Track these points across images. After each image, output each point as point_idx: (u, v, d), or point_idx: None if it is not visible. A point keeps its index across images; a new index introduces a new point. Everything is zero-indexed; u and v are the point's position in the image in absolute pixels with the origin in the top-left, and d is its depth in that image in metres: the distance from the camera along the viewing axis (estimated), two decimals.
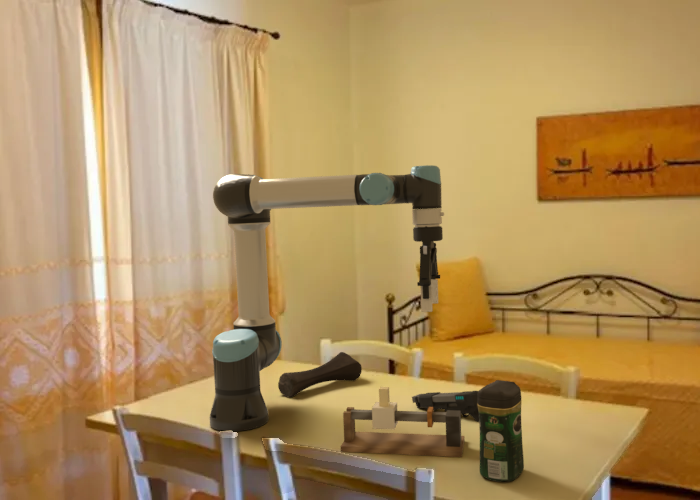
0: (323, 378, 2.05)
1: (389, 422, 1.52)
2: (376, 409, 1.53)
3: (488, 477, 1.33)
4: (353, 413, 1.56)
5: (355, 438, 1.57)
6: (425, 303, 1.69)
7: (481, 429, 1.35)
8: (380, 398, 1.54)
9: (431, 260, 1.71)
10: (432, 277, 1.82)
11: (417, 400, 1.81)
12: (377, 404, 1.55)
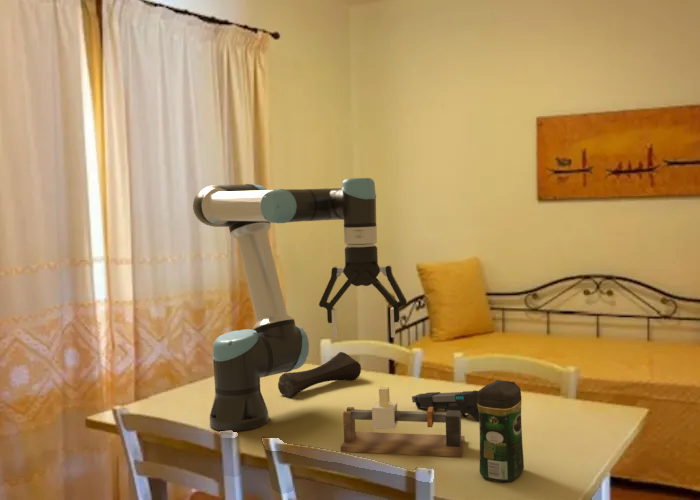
0: (323, 378, 2.05)
1: (389, 422, 1.52)
2: (376, 409, 1.53)
3: (488, 477, 1.33)
4: (353, 413, 1.56)
5: (355, 438, 1.57)
6: None
7: (481, 429, 1.35)
8: (380, 398, 1.54)
9: None
10: None
11: (417, 400, 1.81)
12: (377, 404, 1.55)
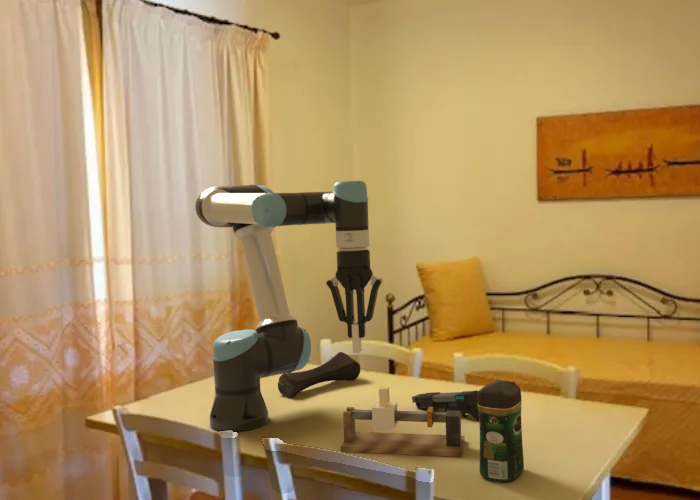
0: (322, 378, 2.05)
1: (389, 422, 1.52)
2: (376, 409, 1.53)
3: (488, 477, 1.33)
4: (353, 413, 1.56)
5: (355, 438, 1.57)
6: None
7: (481, 429, 1.35)
8: (380, 398, 1.54)
9: None
10: None
11: (417, 400, 1.81)
12: (377, 404, 1.55)
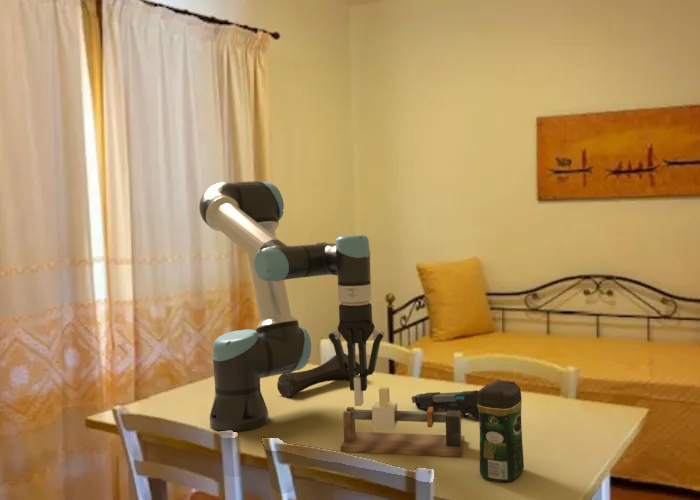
0: (322, 378, 2.05)
1: (389, 422, 1.52)
2: (376, 409, 1.53)
3: (488, 477, 1.33)
4: (353, 413, 1.56)
5: (355, 438, 1.57)
6: None
7: (481, 429, 1.35)
8: (380, 398, 1.54)
9: None
10: None
11: (417, 400, 1.81)
12: (377, 404, 1.55)
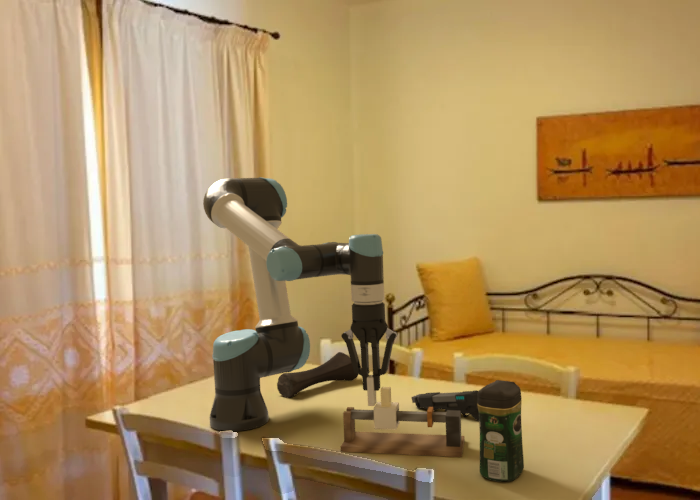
0: (322, 378, 2.05)
1: (390, 422, 1.52)
2: (378, 409, 1.53)
3: (488, 477, 1.33)
4: (353, 413, 1.56)
5: (355, 438, 1.57)
6: None
7: (481, 429, 1.35)
8: (382, 398, 1.54)
9: None
10: None
11: (417, 400, 1.81)
12: (379, 404, 1.55)
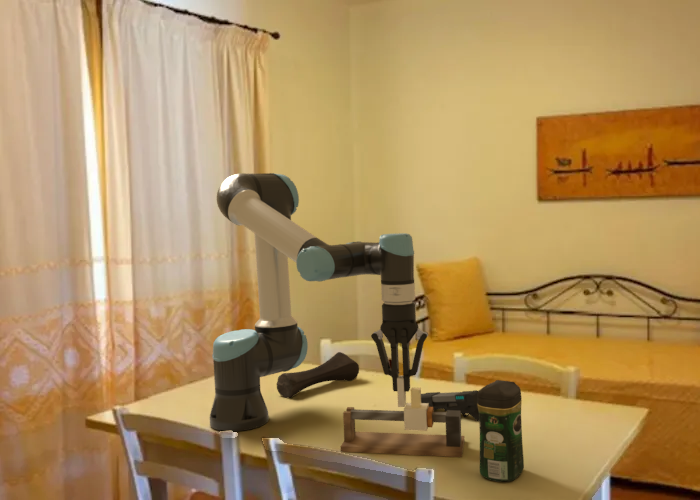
0: (321, 378, 2.05)
1: (421, 423, 1.50)
2: (408, 410, 1.51)
3: (488, 477, 1.33)
4: (353, 413, 1.56)
5: (355, 438, 1.57)
6: None
7: (481, 429, 1.35)
8: (412, 399, 1.52)
9: None
10: None
11: None
12: (408, 405, 1.54)
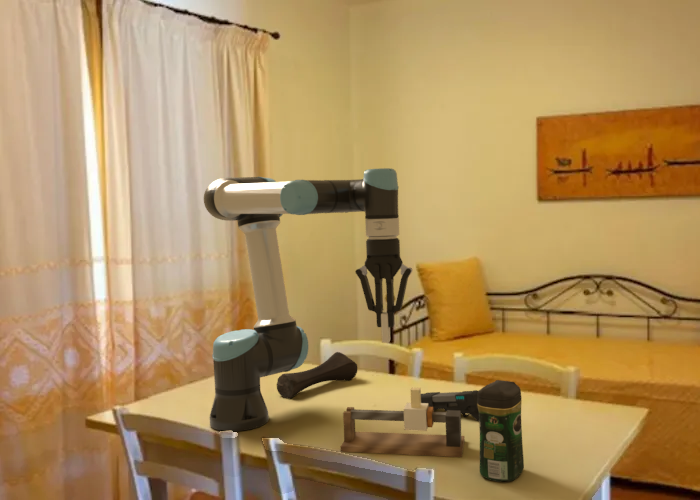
0: (321, 378, 2.05)
1: (421, 423, 1.50)
2: (408, 410, 1.51)
3: (488, 477, 1.33)
4: (353, 413, 1.56)
5: (355, 438, 1.57)
6: None
7: (481, 429, 1.35)
8: (412, 399, 1.52)
9: None
10: None
11: None
12: (408, 405, 1.54)
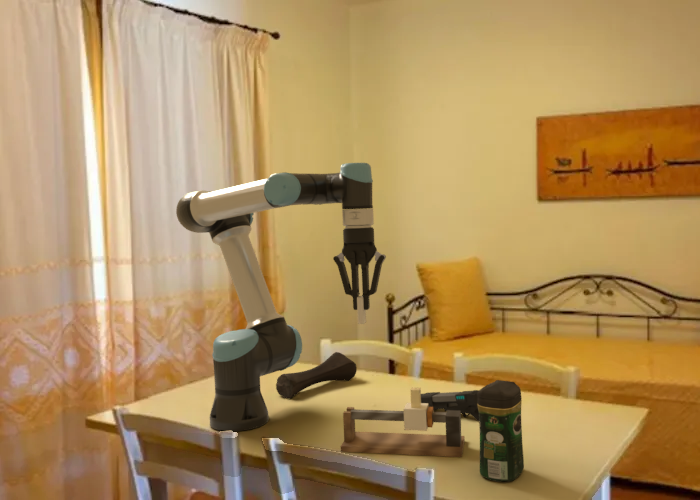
0: (320, 378, 2.05)
1: (421, 423, 1.50)
2: (408, 410, 1.51)
3: (488, 477, 1.33)
4: (353, 413, 1.56)
5: (355, 438, 1.57)
6: None
7: (481, 429, 1.35)
8: (412, 399, 1.52)
9: None
10: None
11: None
12: (408, 405, 1.54)
